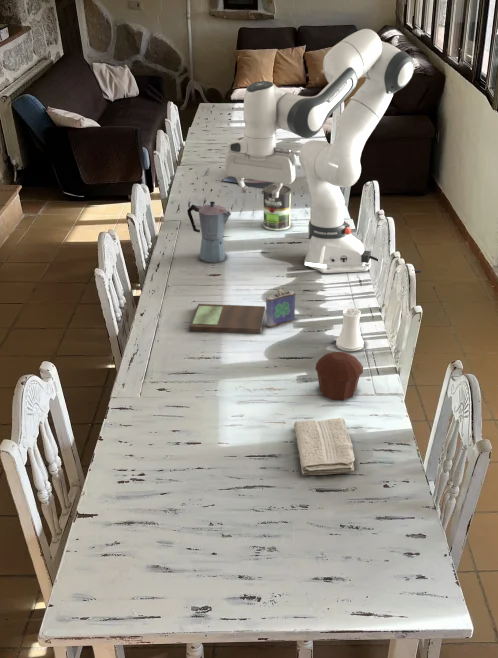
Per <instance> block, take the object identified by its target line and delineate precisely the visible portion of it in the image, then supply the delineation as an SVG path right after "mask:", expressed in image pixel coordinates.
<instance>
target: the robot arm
mask: <svg viewBox="0 0 498 658" xmlns="http://www.w3.org/2000/svg"><path fill="white" fill-rule="evenodd" d="M322 70H323V75H324V77H325V79H326V82H327V83H328V84H327V85H326V86H325V87H324V88H323V89H322V90H321V91H319V93H318V94H316V95H314V96H303V95H298V94H295V93H292V92H290V91H286V90H284V89H281V88H279V87H278V86H276V85H275V84H274V83H273V82H272V81H269V80H260V81H258V80H257V81H254V82H252V83H250V84H249V85H247V86H246V89H245V92H244V96H243V121H244V131H243V137H238V138H235V139H232V140H231V141H229V142H228V143H227V144H226V149H227V152H226V154H225V157H224V173H225V175H226V176H227V177H230V176H231V177H237V182H238V183H237V184H238V186H239V187H240V194H248V192H249V190H248V189H249V186H248V185H245V184H244V182H243V180H244V178H246V179H253V180H260V181H268V182H272V183H275V185H276V186H278V187H277V189H276V190H273V191H272V197H273V198H278V197H279V190H280V189H281V187H282V186H284V185H291V184H292V183H294V181H295V180H296V161H297V160H296V159H297V157H296V156H297V155H296V154H295V152H294V151H292V150H291V149H290V148H282V147H277V130H279V129H281V130H282V131H287V132H290V133H292V134H295V135H297V136H299V137H301V138H303V139H309V138H312V137H314V136H316V135H317V134H318V133H319V132H320V131H321V130H322V128H323V127H324V125H325V123H326V122H327V120H329V117H330V116H331V115H332V114H333V113H334V112H335V111H336V110H337V109H338V108H339V107H340V106H341V105H342V104H343V103H344V101H346V99H347V98H348V97H349V96H350V95H351V94H352V93H353V91H354V90H355V89H356V86H357V84H358V80H359V79H360V78H361V77H362V76H363V77H365V81H364V82H363V84H361V85H360V87H359V88H358V89H357V90H356V92H355V93H354V94H353V95H352V97H351V99H350V100H349V101H348V103H347V104H346V106H345V107H344V109H343V111H342V112H341V113H340V115H339V116H338V118H337V120H336V123H335V124H336V130H337V131H336V135H335V138H334V140H333V143H329V142H327V141H324V140H319V139H318V140H317V139H312V140H307V141H306V142H305V143H303V145H302V146H301V147H300V149H299V153H298V162H299V164H300V166H301V167H302V170H303V172H304V175H305V179H306V184H307V188H308V193H309V202H310V203H309V205H310V207H309V208H310V209H309V211H310V213H309V215H310V217H309V218H310V219H309V221H308V227H307V229H308V231H307V236H308V244H307V249H306V254H305V257H304V261H303V262H304V266H307V267H310V268H311V269H314V270H317V271H319V272H320V273H322V274H337V273H340V274H341V273H358V272H361V273H362V272H367V271H369V270H370V268H372V267H371V266H372V261H373V260H374V261H375V262H377V261H378V259H379V258H378V257H376V256H373V255H372V251H371V250H365V246H364V244H363V242H362V240H360V239H358V238H357V237H356V236H354V235H353V234H352V228H351V225H350V224H349V221H345V207H346V206H345V205H346V200H345V197H344V194H343V192H342V189H341V188H349V187H352V186H355V184H356V183H357V182H358V180H359V179H360V176H361V173H362V165H361V157H362V152H363V150H364V147H365V145H366V142H367V141H368V139H369V137H370V136H371V134H372V133H373V131H374V130H375V129H376V127H377V125H378V124H379V123H380V121H381V119H382V118H383V116H384V114H385V113H386V111H387V109H388V107H389V105H390V103H391V101H392V98H393V96H394V94H395V93H397V92H398V91H400V90H402V89H403V88H404V87H406V86H407V85H408V84H409V82H410V81H411V79H412V77H413V74H414V71H415V61H414V59H413V58H412V56H411V55H409V54H408V53H407V52H406V51H404V50H400V48H398V47H396V46H395V45H393V44H391V43H389V42H385V41H382V40H381V38H380V36H379V34H378V33H377V32H376V31H374V30H373V29H370V28H363V29H360V30H358V31H355V32H353V33H351V34H349V35H347V36H346V37H345V38H343V39H342V40H340V41H339V42H337V43H336V44H335V45H333V46H332V48H330V49H329V50H328V51H327V53H326V54H325V55H324V57H323V61H322ZM377 258H378V259H377ZM365 264H366V265H365ZM413 270H414V269H413ZM414 271H415V273H414V274H418V273H419V274H421V272H422V270H421V269H418V270H417V269H415V270H414Z"/></svg>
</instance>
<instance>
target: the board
mask: <svg viewBox="0 0 498 658" xmlns="http://www.w3.org/2000/svg"><path fill="white" fill-rule="evenodd" d="M265 316H266V305H243V304H242V305H239V304H215V303H213V304H211V303H210V304H209V303H198V304H197V306H196V308H195V312H194V314H193V317H192V320H191V323H190V325H189V331H190V332H207V333H208V332H210V333H233V334H234V333H235V334H260V335H261V334H262V330H263V325H264V320H265Z"/></svg>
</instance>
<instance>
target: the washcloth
mask: <svg viewBox="0 0 498 658" xmlns="http://www.w3.org/2000/svg"><path fill="white" fill-rule="evenodd" d="M293 427H294V433H295V438H296V445H297V446H296V447H297V450H298V456H299V462H300V469H301V471H300V472H301V474H302V476H312V475H314V476H315V475H317V476H322V475H337V474H349V473H353V472H354V471H355V465H354V462H355V459H356V458H355V454H354V446H353V443H352V440H351V437H350V432H349V429H348V427H347V423H346V420H345V419H344V418H343V417H338V418H337V417H336V418H330V419H324V420H318V421H317V420H300V421H295V422H294V423H293Z"/></svg>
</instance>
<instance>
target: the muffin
mask: <svg viewBox="0 0 498 658" xmlns="http://www.w3.org/2000/svg"><path fill="white" fill-rule="evenodd" d="M315 371H316V372H317V373H316V374H317V379H318V386H319V391H320V392H321V394H322V396H323V397H325V398H328V399H330V400H332V401H345V400H347V399H351V398H353V397H354V394H355V393H356V391H357V389H358V388H357V387H358V384H359V380H360V376H361V375H363V373H364V366H363V365H362V363H361V362H360V361H359V360H358V358H357V357H356V356H355V355H352V354H350V353H349V352H347V351H340V350H339V351H331V352H327V353H325V354H324V355H322V357H320V358H319V359H318V360H317V362H316V363H315Z"/></svg>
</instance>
